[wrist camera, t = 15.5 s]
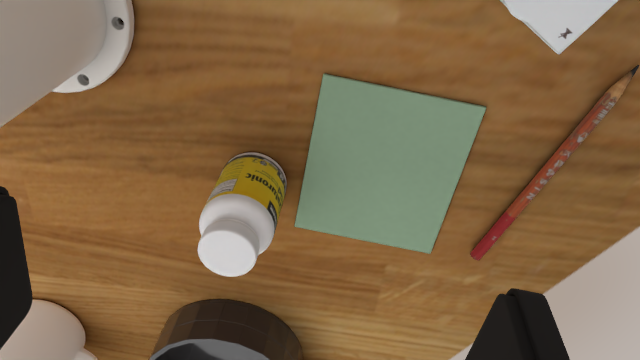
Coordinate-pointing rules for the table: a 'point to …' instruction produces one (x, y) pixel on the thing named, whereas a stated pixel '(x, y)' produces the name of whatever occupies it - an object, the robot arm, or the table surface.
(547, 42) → the small box
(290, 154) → the table surface
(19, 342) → the mug
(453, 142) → the cloth
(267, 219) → the supplement bottle
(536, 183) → the pencil
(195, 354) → the pan
